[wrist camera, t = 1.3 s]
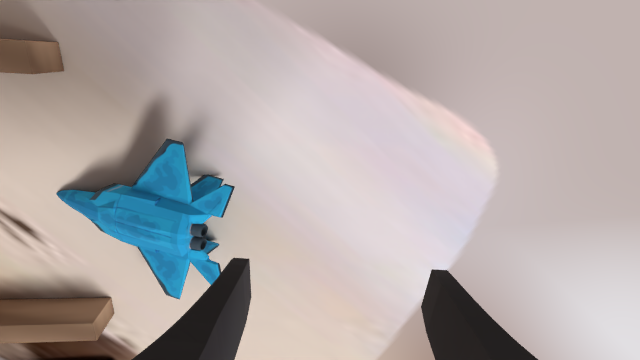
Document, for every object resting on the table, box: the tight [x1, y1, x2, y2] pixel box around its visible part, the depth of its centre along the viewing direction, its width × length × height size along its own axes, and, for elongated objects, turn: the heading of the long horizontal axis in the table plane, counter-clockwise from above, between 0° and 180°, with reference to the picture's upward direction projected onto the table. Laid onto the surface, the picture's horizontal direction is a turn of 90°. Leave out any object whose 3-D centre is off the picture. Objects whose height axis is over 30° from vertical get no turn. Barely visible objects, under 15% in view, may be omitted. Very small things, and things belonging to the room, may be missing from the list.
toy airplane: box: [57, 139, 234, 300], centre depth 21 cm, size 12×10×4 cm
